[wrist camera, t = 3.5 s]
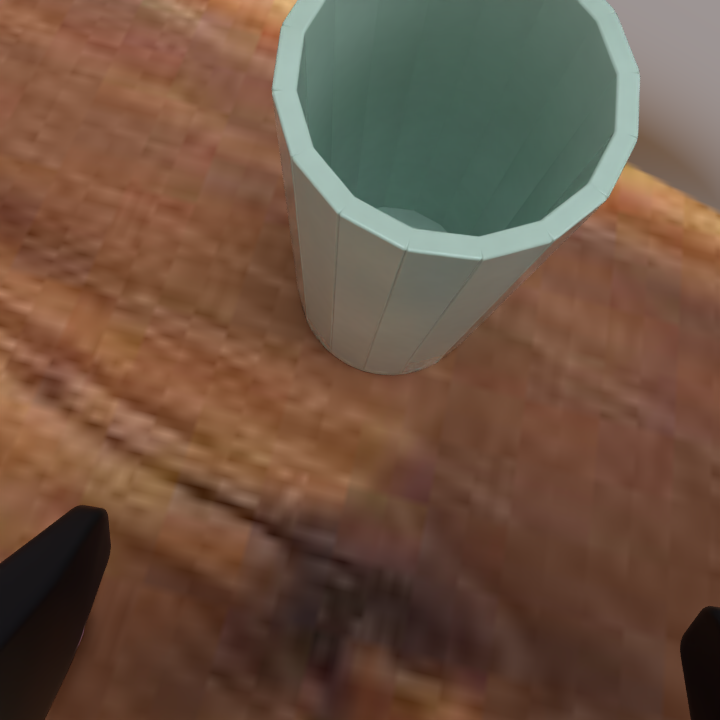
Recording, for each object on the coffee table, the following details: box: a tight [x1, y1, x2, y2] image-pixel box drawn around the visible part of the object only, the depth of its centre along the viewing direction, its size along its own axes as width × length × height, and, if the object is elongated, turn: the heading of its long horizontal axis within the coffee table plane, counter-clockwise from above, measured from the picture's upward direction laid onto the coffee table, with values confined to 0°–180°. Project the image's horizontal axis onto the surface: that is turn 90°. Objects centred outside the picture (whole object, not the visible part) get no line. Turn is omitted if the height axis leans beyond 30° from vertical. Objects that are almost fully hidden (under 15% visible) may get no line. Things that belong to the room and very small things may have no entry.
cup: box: [272, 0, 640, 375], centre depth 18 cm, size 7×7×13 cm
